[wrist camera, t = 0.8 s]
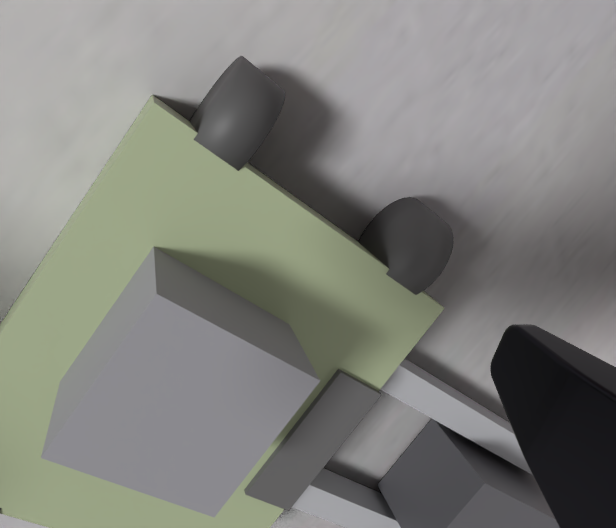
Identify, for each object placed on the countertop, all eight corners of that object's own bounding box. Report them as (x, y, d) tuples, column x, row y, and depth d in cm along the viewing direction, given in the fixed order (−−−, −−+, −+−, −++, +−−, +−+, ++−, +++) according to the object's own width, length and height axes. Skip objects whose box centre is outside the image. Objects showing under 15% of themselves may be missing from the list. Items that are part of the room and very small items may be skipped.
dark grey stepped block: (481, 537, 34) (539, 620, 29) (372, 490, 30) (419, 577, 25) (539, 470, 33) (609, 543, 28) (436, 412, 29) (497, 486, 24)
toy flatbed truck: (393, 619, 35) (453, 755, 28) (-100, 474, 22) (-207, 660, 15) (613, 364, 32) (739, 447, 25) (197, 26, 19) (226, 11, 12)
